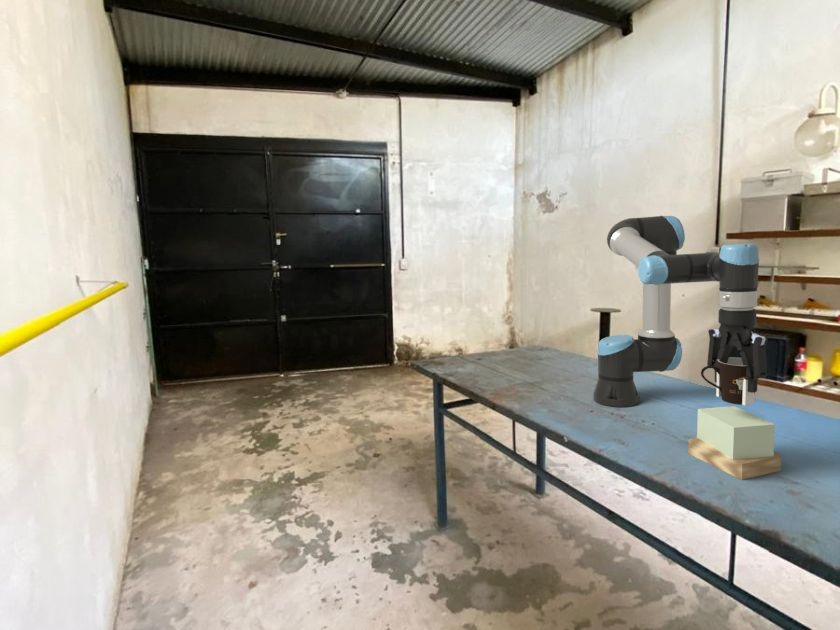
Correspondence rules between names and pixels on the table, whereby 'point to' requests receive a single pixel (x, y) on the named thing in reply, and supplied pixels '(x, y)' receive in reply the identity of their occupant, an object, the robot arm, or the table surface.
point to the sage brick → (736, 432)
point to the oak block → (734, 461)
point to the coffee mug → (730, 379)
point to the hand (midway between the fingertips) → (734, 399)
